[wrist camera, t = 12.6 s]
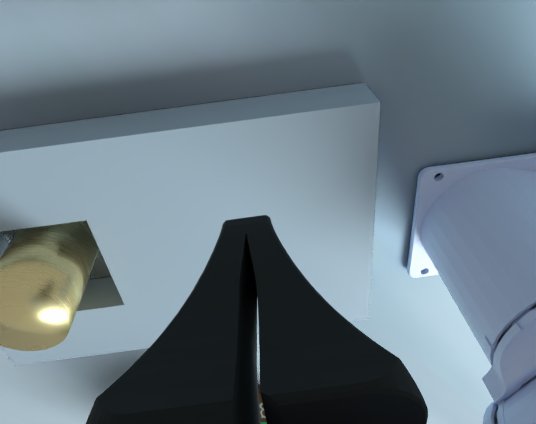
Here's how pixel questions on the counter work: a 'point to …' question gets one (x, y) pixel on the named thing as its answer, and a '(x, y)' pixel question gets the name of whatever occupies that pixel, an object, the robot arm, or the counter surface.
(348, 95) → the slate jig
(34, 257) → the gold metal cylinder
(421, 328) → the counter surface
